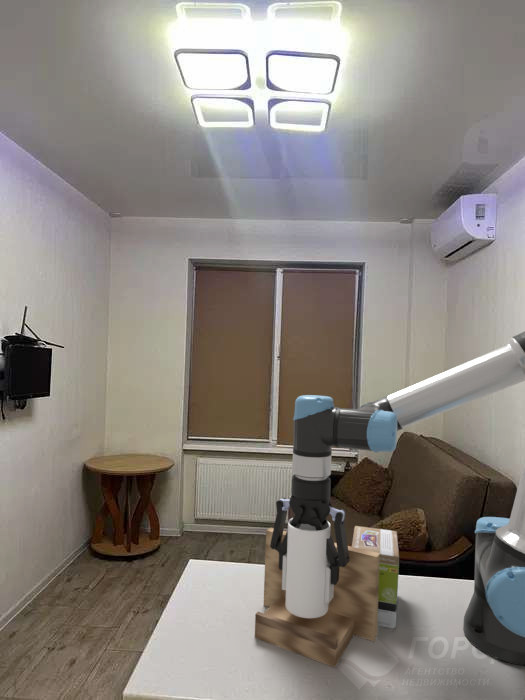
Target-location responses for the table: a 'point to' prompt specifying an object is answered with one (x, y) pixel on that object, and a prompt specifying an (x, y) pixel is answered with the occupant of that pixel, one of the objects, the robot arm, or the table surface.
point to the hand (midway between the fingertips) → (307, 593)
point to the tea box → (382, 568)
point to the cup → (306, 570)
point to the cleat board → (341, 618)
